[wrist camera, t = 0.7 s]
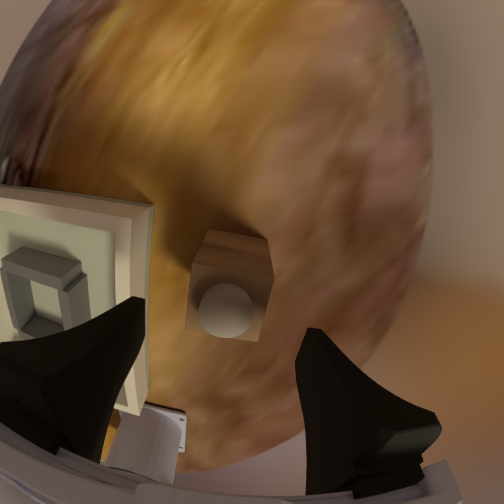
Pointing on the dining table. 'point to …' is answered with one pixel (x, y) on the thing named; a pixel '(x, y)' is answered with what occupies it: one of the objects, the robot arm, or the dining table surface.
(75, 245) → the cream square tray
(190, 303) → the peg
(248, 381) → the dining table surface
